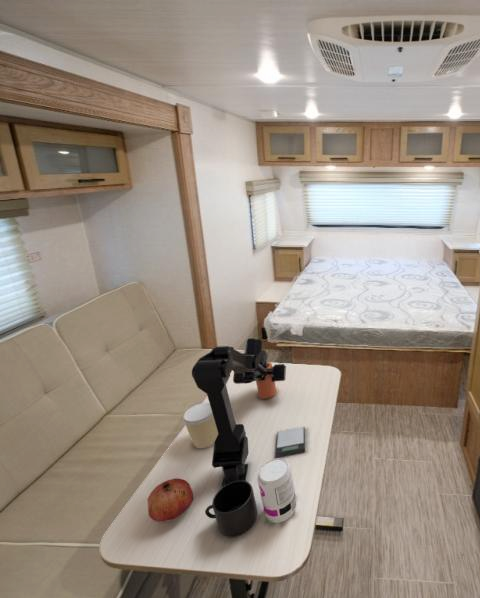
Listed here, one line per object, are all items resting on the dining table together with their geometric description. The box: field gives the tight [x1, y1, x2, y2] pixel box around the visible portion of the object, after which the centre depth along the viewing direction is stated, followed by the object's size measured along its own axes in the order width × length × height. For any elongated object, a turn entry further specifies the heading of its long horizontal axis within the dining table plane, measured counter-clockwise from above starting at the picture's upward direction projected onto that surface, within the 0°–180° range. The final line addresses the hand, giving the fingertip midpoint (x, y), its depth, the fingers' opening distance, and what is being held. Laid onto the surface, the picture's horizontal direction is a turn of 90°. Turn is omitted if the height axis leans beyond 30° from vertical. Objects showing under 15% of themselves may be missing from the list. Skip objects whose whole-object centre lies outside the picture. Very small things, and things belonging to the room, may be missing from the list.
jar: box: [255, 361, 277, 400], centre depth 137 cm, size 7×7×13 cm
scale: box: [275, 426, 306, 458], centre depth 115 cm, size 10×9×2 cm
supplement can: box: [257, 458, 297, 524], centre depth 90 cm, size 8×8×15 cm
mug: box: [204, 480, 259, 538], centre depth 89 cm, size 9×12×9 cm
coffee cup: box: [182, 402, 218, 449], centre depth 114 cm, size 9×9×12 cm
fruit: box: [147, 477, 195, 523], centre depth 91 cm, size 11×10×10 cm
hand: (266, 377), depth 138 cm, fingers closed on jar, 7 cm apart
